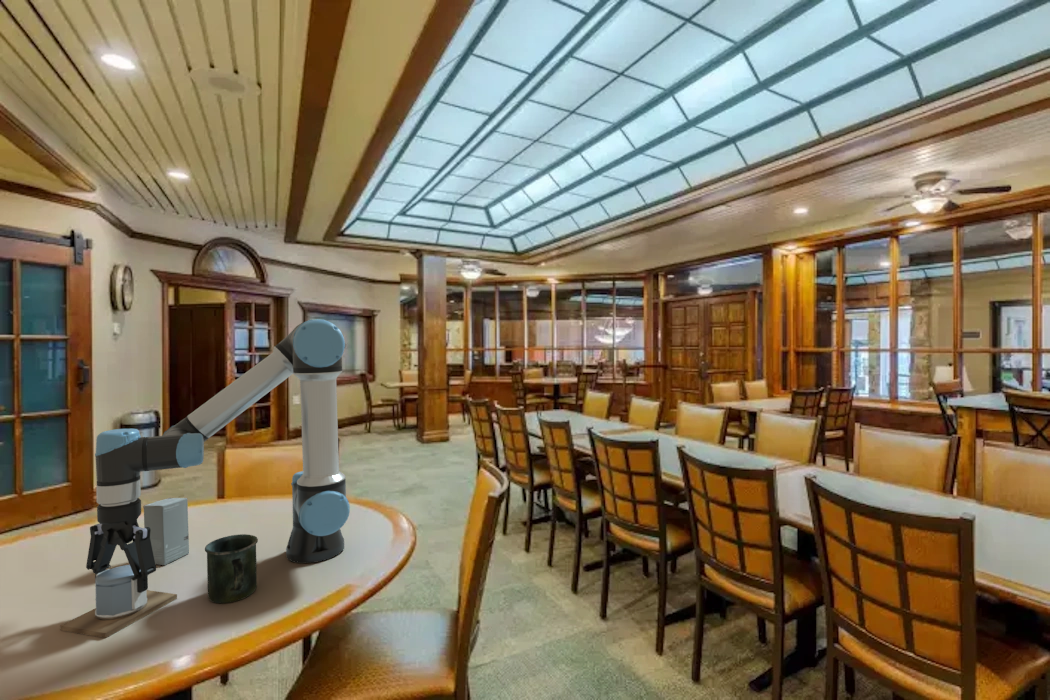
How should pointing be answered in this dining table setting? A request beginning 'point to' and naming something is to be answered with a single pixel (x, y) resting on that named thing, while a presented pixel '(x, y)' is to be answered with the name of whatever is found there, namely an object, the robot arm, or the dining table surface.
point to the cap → (114, 591)
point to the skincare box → (168, 529)
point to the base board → (108, 627)
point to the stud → (120, 615)
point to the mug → (231, 568)
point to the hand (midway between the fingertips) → (121, 603)
